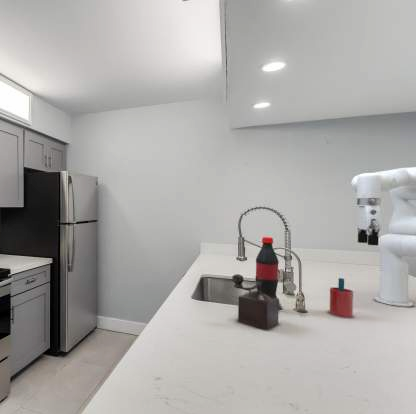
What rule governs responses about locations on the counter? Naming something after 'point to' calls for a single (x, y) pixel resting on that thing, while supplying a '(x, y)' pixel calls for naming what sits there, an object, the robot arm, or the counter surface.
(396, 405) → the counter surface
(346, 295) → the can
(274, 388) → the counter surface
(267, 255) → the cola bottle
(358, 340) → the counter surface
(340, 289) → the straw
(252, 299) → the manual coffee grinder
